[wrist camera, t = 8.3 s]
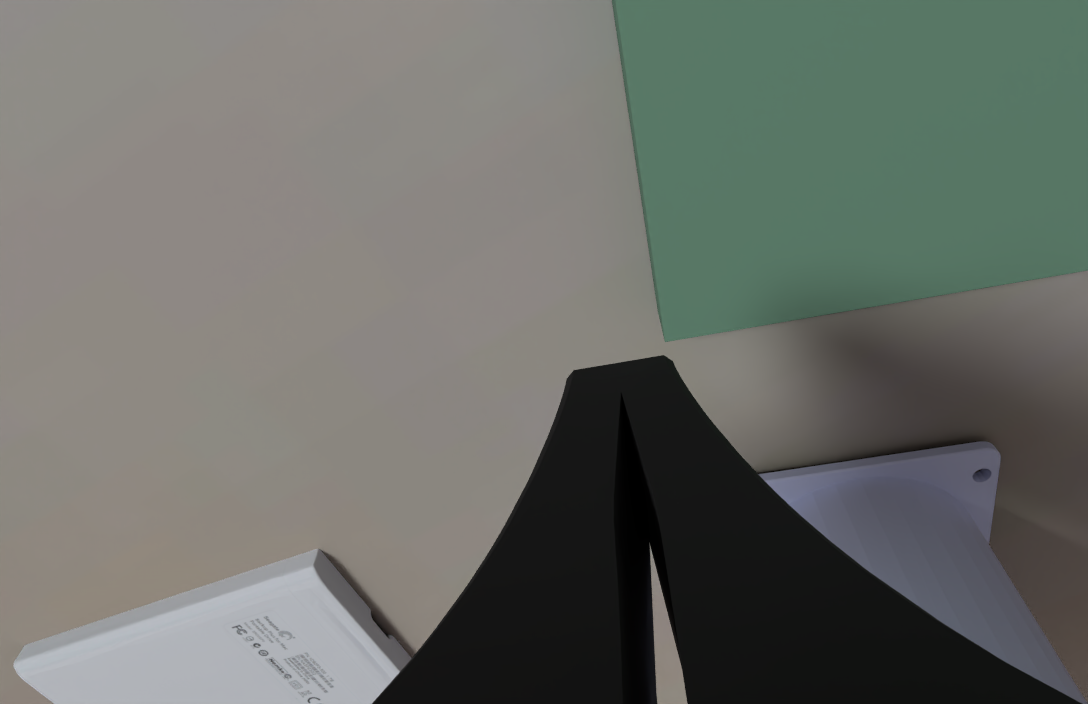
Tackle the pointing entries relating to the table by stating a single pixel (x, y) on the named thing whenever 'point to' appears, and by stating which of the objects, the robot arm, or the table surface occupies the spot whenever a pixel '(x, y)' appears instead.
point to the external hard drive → (227, 645)
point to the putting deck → (853, 151)
